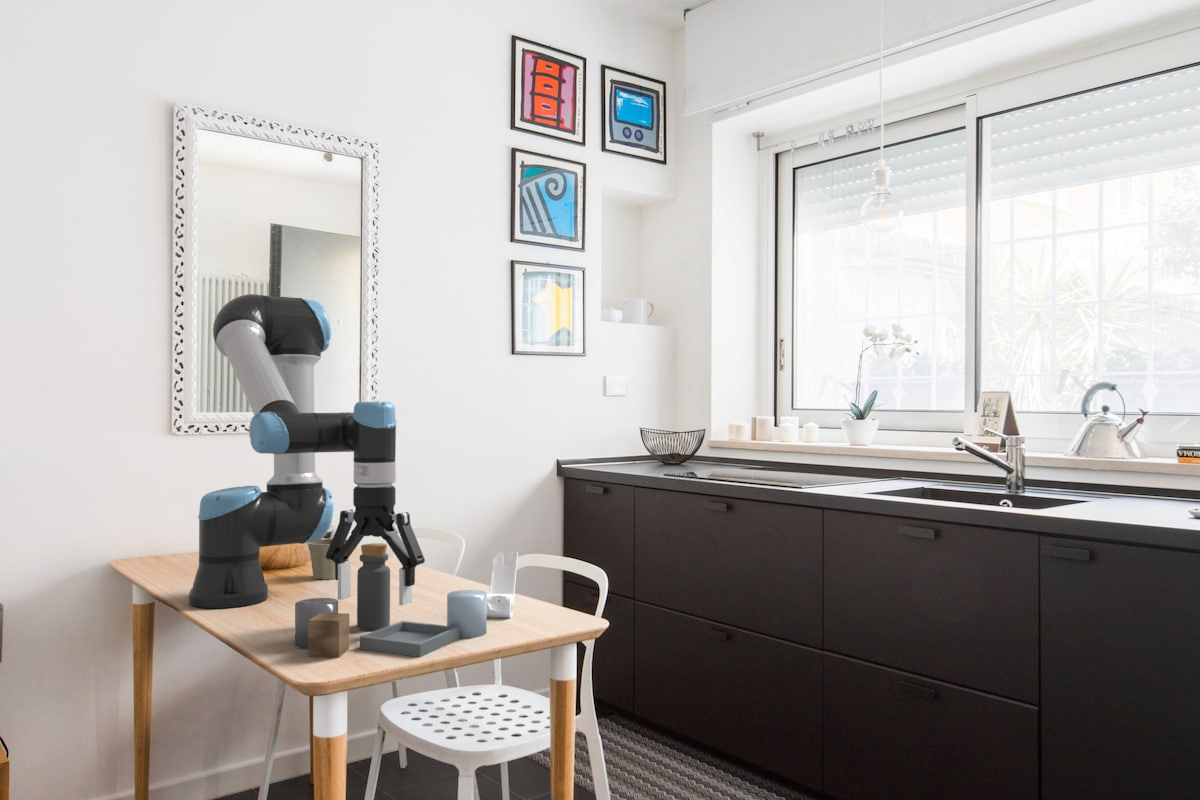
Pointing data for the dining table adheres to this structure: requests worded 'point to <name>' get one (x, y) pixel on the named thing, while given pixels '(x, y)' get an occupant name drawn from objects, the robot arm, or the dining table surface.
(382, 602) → the bottle
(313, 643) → the walnut block
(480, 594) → the light blue cylinder
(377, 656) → the dining table surface
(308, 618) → the gray domed object
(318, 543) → the flower pot
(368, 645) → the tray
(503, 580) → the plastic part
